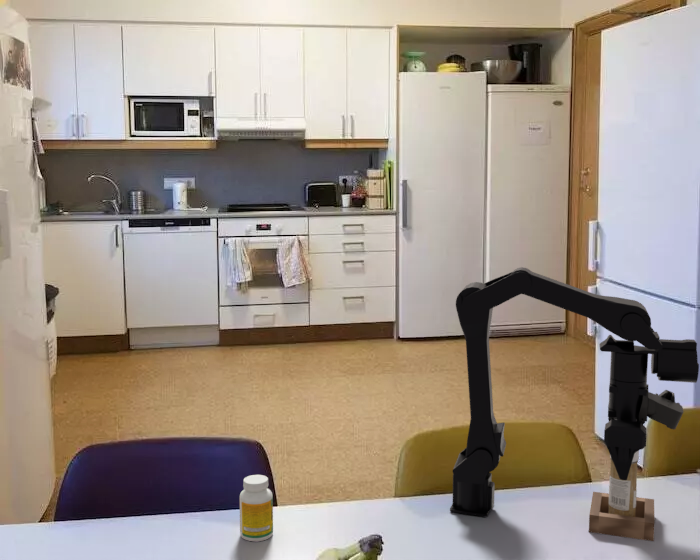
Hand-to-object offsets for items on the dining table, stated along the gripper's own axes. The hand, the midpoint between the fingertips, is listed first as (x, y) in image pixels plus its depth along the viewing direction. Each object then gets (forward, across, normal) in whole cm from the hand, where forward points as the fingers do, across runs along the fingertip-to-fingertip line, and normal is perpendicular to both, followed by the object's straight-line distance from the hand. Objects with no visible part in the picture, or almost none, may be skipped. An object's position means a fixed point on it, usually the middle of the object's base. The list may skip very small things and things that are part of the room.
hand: (624, 469), depth 135 cm
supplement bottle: (+10, -24, +56) cm, 62 cm away
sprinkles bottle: (+10, 0, 0) cm, 10 cm away
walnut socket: (+10, 0, 0) cm, 10 cm away
